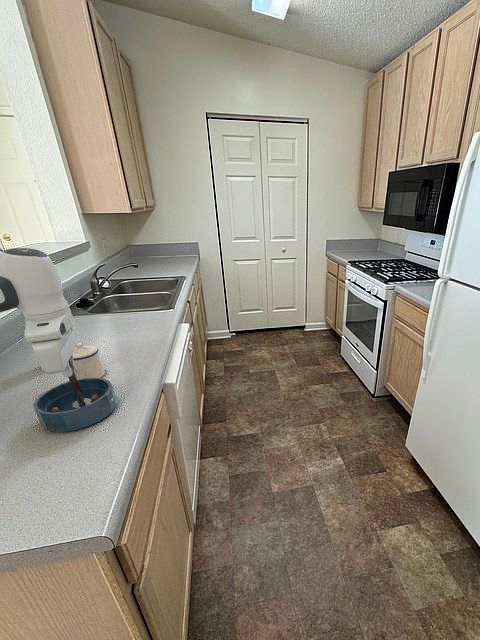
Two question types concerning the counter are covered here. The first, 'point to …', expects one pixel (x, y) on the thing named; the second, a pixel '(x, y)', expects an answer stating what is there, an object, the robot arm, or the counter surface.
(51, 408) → the bead
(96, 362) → the teacup with lid
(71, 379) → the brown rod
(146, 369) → the counter surface
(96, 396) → the bead
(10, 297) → the robot arm
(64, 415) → the bowl
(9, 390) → the counter surface
